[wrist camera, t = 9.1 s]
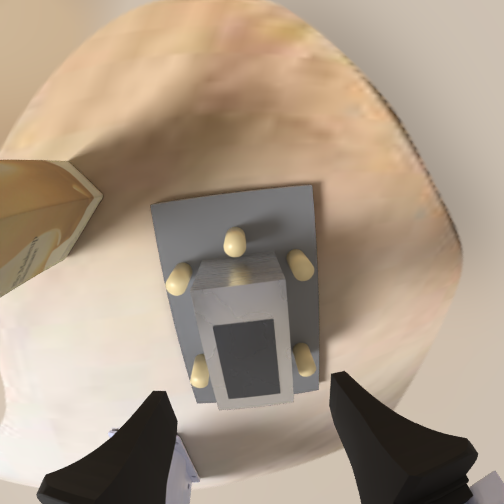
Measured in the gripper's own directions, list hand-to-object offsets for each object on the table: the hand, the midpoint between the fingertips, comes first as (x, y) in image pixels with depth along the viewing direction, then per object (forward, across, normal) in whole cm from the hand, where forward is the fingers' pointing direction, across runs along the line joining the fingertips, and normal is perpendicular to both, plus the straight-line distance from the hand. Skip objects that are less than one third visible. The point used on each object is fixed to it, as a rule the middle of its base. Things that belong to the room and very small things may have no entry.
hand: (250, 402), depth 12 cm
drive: (+8, 0, 0) cm, 8 cm away
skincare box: (+10, +12, -9) cm, 18 cm away
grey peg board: (+9, 0, 0) cm, 9 cm away
